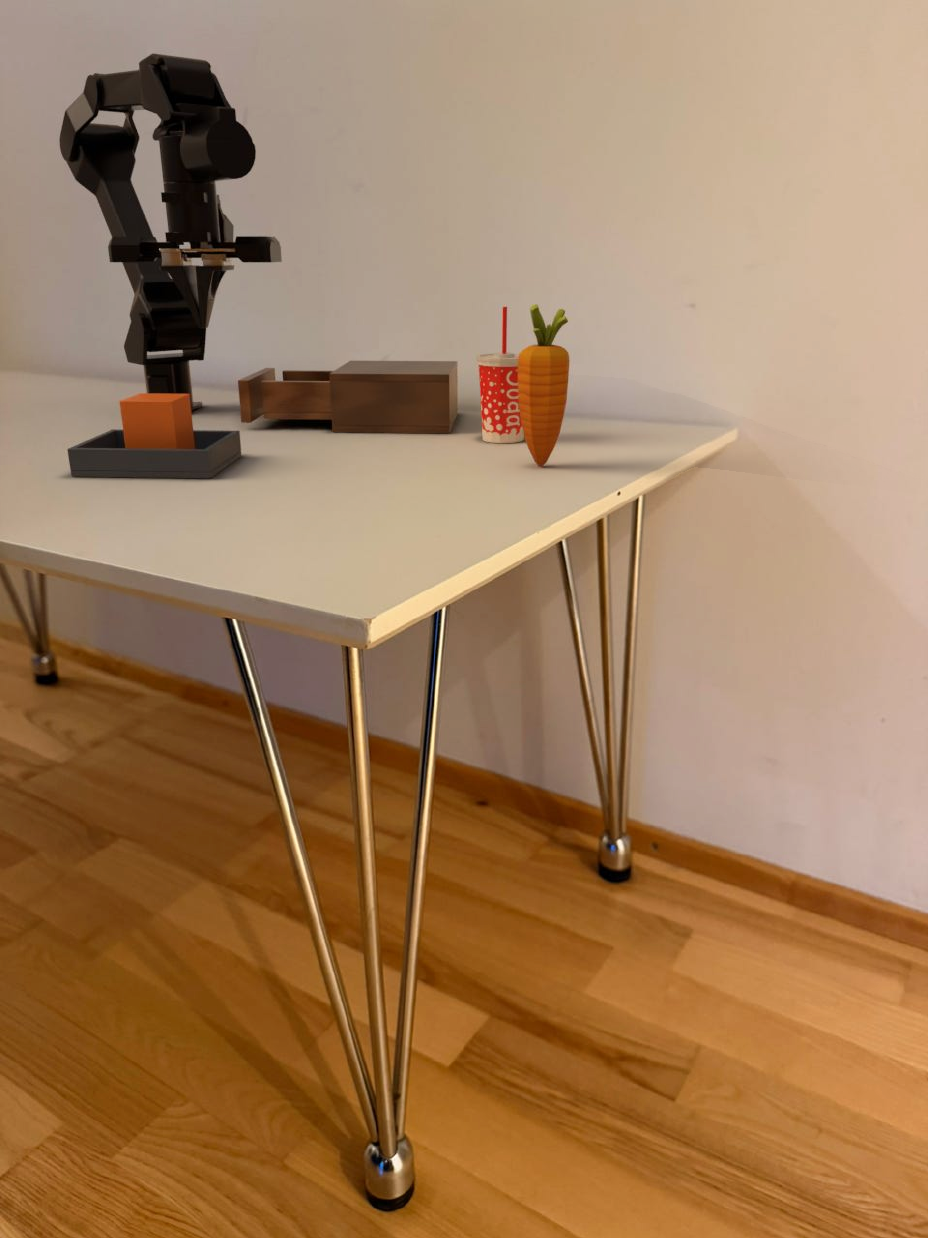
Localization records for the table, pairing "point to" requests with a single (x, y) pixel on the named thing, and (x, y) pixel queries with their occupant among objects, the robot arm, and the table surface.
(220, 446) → the tray
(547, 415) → the carrot
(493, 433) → the beverage cup
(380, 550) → the table surface
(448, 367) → the cabinet
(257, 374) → the drawer
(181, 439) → the cube
